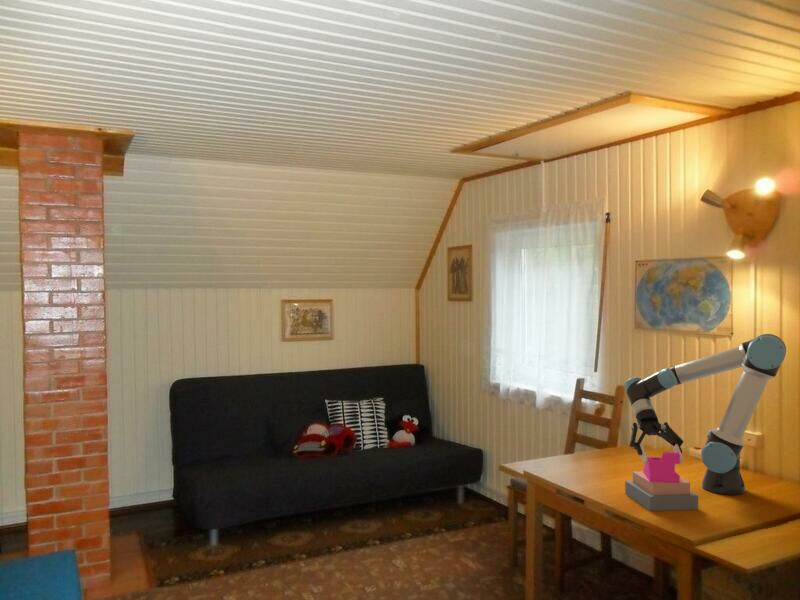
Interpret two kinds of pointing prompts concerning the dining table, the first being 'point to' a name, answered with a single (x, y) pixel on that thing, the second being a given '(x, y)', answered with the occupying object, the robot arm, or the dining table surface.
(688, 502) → the two-tone base plate
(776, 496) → the dining table surface
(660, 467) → the bracket
